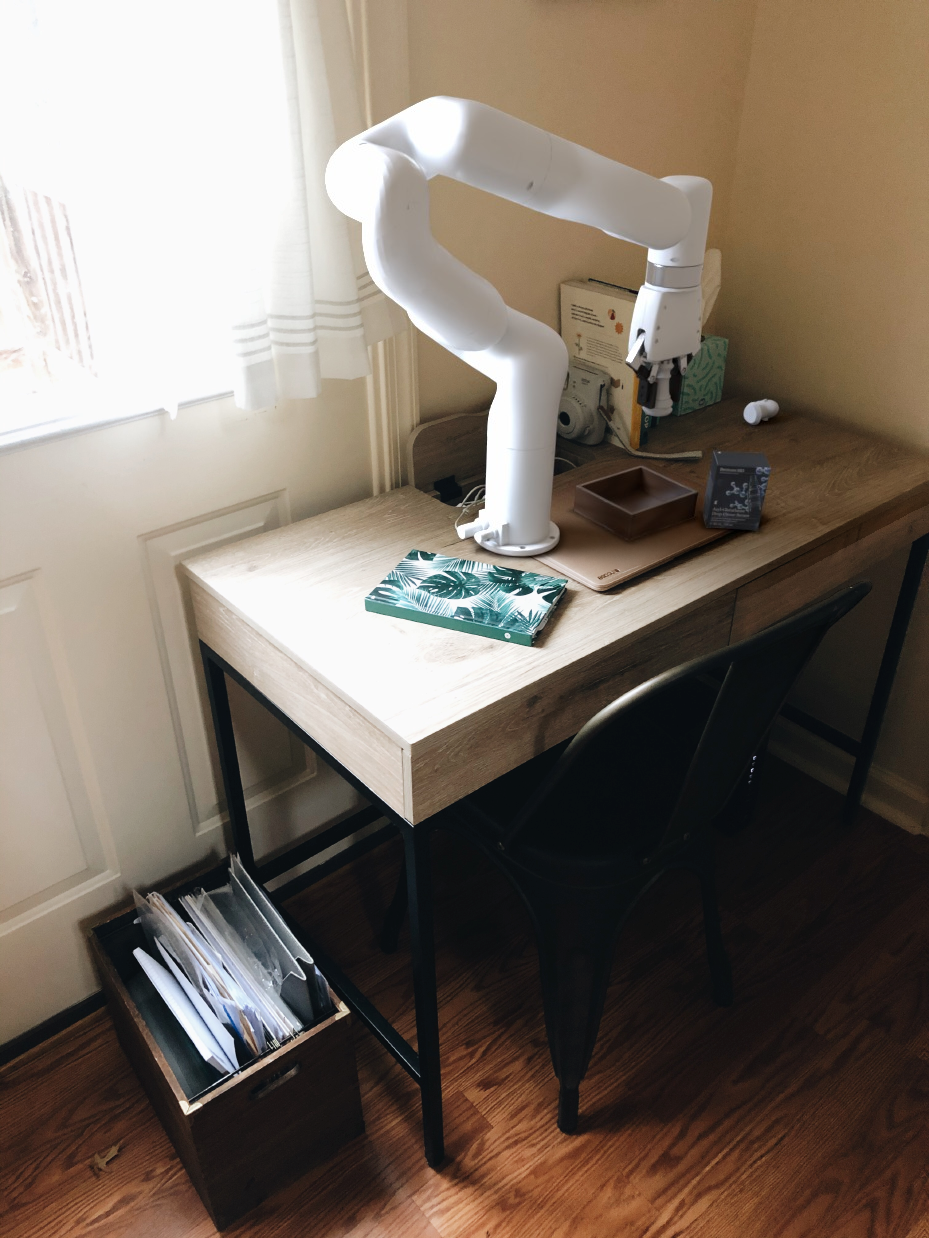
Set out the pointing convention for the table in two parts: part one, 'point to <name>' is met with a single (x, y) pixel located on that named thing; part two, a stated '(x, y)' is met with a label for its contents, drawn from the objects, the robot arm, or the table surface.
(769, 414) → the smooth white sculpture
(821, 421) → the table surface
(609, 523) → the tray
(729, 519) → the box
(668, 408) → the rook chess piece
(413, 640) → the table surface
